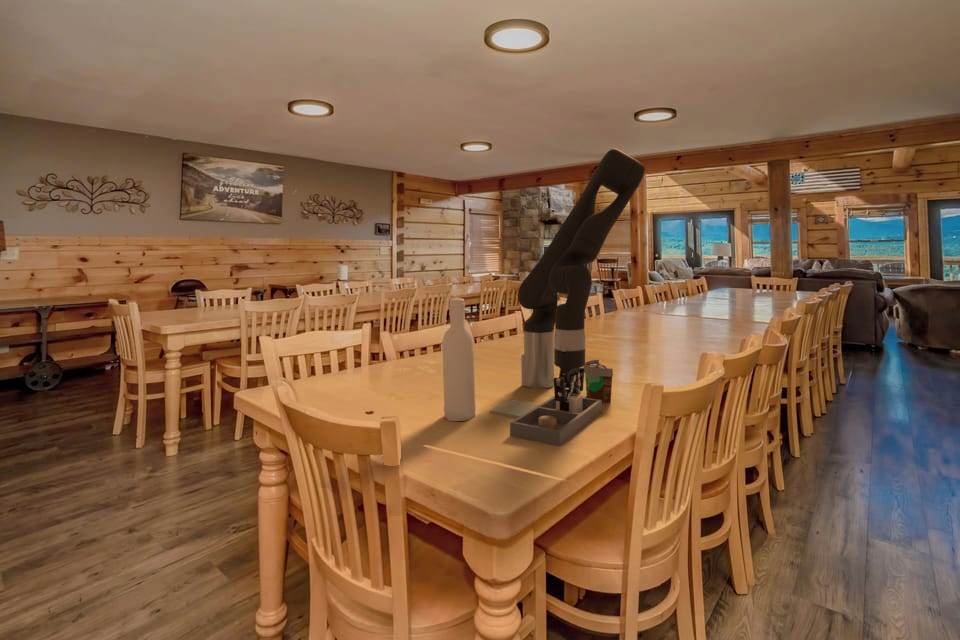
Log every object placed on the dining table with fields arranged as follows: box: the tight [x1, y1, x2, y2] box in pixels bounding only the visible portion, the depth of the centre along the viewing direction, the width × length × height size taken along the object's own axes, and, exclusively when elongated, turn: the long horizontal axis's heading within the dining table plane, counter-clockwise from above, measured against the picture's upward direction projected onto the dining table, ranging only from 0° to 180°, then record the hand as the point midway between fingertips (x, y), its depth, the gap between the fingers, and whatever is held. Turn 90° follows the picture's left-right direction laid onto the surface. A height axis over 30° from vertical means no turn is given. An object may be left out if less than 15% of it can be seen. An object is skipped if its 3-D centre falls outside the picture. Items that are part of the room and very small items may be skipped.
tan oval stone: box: [539, 416, 556, 430], centre depth 112 cm, size 4×4×3 cm
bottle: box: [442, 297, 476, 422], centre depth 122 cm, size 8×8×30 cm
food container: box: [582, 359, 614, 404], centre depth 136 cm, size 12×6×10 cm, turn 5°
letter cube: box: [556, 393, 584, 413], centre depth 122 cm, size 5×5×5 cm
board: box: [489, 399, 541, 419], centre depth 127 cm, size 11×11×1 cm
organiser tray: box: [509, 395, 603, 447], centre depth 117 cm, size 12×26×4 cm, turn 147°
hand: (569, 412), depth 122 cm, fingers open, 5 cm apart
